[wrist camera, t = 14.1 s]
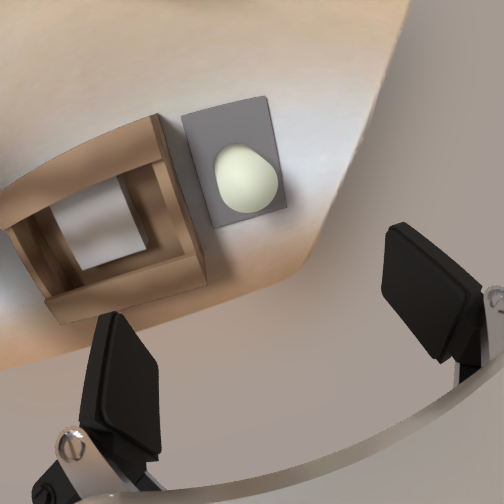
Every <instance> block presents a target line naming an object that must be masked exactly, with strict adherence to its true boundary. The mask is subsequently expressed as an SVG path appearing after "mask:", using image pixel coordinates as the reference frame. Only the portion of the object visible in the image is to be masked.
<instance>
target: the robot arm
mask: <svg viewBox="0 0 504 504" xmlns="http://www.w3.org/2000/svg"><path fill="white" fill-rule="evenodd" d="M385 237H386V238H385V253H384V265H383V276H382V285H381V291H382V295H383V297H384V298H385V299H386V300H387V301H388V303H389V304H390V305H391V307H392V308H393V309H394V310H395V311H396V313H397V314H398V315H399V316H400V318H401V319H402V320H403V321H404V323H405V324H406V325H407V326H408V328H409V329H410V330H411V331H412V333H413V334H414V335H415V336H416V338H417V339H418V341H419V342H420V343H421V344H422V346H423V347H424V348H425V350H426V351H427V352H428V354H429V355H430V356H431V357H432V358H433V359H437V361H438V362H439V363H440V364H442V363H443V362H445V361H446V360H448V359H449V358H450V357H451V356H452V357H453V358H454V360H455V372H454V385H453V389H452V390H451V391H450V392H448V393H447V394H445V395H444V396H442V397H441V398H439V399H438V400H436V401H435V402H433V403H431V404H430V405H428V406H427V407H425V408H423V409H422V410H420V411H418V412H417V413H415V414H413V415H412V416H410V417H408V418H406V419H405V420H403V421H401V422H399V423H397V424H396V425H394V426H392V427H390V428H388V429H386V430H384V431H382V432H380V433H378V434H376V435H374V436H372V437H370V438H368V439H366V440H363V441H361V442H359V443H357V444H355V445H352V446H350V447H347V448H345V449H343V450H340V451H338V452H335V453H333V454H330V455H327V456H325V457H322V458H319V459H317V460H314V461H311V462H308V463H305V464H302V465H298V466H295V467H292V468H289V469H286V470H282V471H278V472H274V473H271V474H267V475H263V476H259V477H254V478H250V479H245V480H241V481H235V482H230V483H224V484H219V485H211V486H204V487H197V488H187V489H178V490H167V489H165V488H164V487H163V486H162V485H161V484H160V483H159V482H158V481H157V480H156V479H155V478H154V477H153V476H152V475H151V474H150V473H149V472H148V471H147V469H146V462H154V461H159V459H158V454H160V453H161V450H162V449H161V448H162V447H161V434H160V416H159V415H160V414H159V382H158V381H159V376H158V375H159V373H158V372H159V370H158V365H157V362H156V361H155V359H154V358H153V357H152V355H151V354H150V353H149V351H148V350H147V349H146V347H145V346H144V344H143V343H142V342H141V340H140V339H139V337H138V336H137V335H136V333H135V332H134V330H133V329H132V327H131V326H130V325H129V323H128V322H127V320H126V319H125V317H124V316H123V315H122V314H118V313H117V312H116V311H112V312H108V313H105V314H101V315H100V316H99V318H98V321H97V325H96V329H95V333H94V337H93V342H92V346H91V351H90V355H89V360H88V365H87V370H86V376H85V381H84V387H83V393H82V399H81V406H80V414H79V422H80V425H79V427H77V426H70V427H67V428H65V429H64V430H63V431H62V432H61V433H60V434H59V436H58V438H57V440H56V444H55V454H56V457H57V460H56V461H55V462H54V463H53V465H52V466H51V467H50V468H49V469H48V470H47V471H46V472H45V473H44V474H43V475H42V476H41V477H40V479H39V480H38V481H37V482H36V483H35V484H34V486H33V489H32V502H33V504H504V287H501V286H491V287H488V288H487V289H486V290H485V292H484V294H483V293H481V289H482V285H481V284H480V283H478V282H477V281H476V280H475V279H474V278H473V277H472V276H471V275H470V274H469V273H467V272H466V271H465V270H464V269H463V268H462V267H461V266H459V265H458V264H457V263H456V262H455V261H454V260H452V259H451V258H450V257H449V256H448V255H446V254H445V253H444V252H443V251H442V250H440V249H439V248H438V247H437V246H435V245H434V244H433V243H432V242H430V241H429V240H428V239H427V238H425V237H424V236H423V235H421V234H420V233H419V232H418V231H416V230H415V229H414V228H412V227H411V226H410V225H408V224H407V223H405V222H401V223H398V224H395V225H392V226H390V227H389V229H388V232H387V233H386V236H385Z"/></svg>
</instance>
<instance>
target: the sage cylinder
mask: <svg viewBox="0 0 504 504" xmlns="http://www.w3.org/2000/svg"><path fill="white" fill-rule="evenodd" d="M213 169H214V173H215V177H216V181H217V184H218V188H219V191H220V195H221V197H222V199H223V201H224V202H225V203H226V205H227V206H229V207H230V208H231V209H233V210H235V211H238V212H242V213H252V212H256V211H259V210H261V209H263V208H264V207H266V206H267V205H268V204H269V203H270V202H271V201H272V200H273V198H274V196H275V194H276V192H277V188H278V178H277V175H276V172H275V170H274V168H273V167H272V166H271V165H270V164H269V163H268V162H267V161H266V160H265V159H263V158H262V157H261V156H260V155H259V154H257V153H256V152H255V151H254V150H253V149H251V148H250V147H249V146H247V145H245V144H241V143H232V144H229V145H226V146H224V147H223V148H222V149H220V150H219V152H218V153H217V154H216V156H215V158H214V162H213Z"/></svg>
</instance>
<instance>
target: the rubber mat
mask: <svg viewBox="0 0 504 504" xmlns="http://www.w3.org/2000/svg"><path fill="white" fill-rule="evenodd" d="M181 119H182V122H183V126H184V130H185V133H186V137H187V140H188V144H189V147H190V151H191V154H192V157H193V161H194V164H195V168H196V171H197V174H198V178H199V181H200V184H201V188H202V191H203V194H204V198H205V201H206V204H207V207H208V211H209V214H210V217H211V220H212V224H213V227H214V228H217V227H220V226H224V225H227V224H230V223H234V222H237V221H241V220H244V219H248V218H251V217H255V216H258V215H262V214H265V213H269V212H273V211H276V210H280V209H284V208H287V205H286V199H285V194H284V188H283V182H282V177H281V171H280V166H279V161H278V156H277V150H276V145H275V140H274V135H273V130H272V125H271V120H270V116H269V111H268V106H267V101H266V97H265V96H260V97H255V98H250V99H245V100H241V101H236V102H232V103H228V104H223V105H219V106H215V107H212V108H208V109H204V110H200V111H197V112H193V113H190V114H187V115H183V116H181ZM232 143H241V144H245V145H247V146H249V147H250V148H251V149H253V150H254V151H255V152H256V153H257V154H259V155H260V156H261V157H262V158H263V159H265V160H266V161H267V162H268V163H269V164H270V165H271V166H272V167H273V168H274V170H275V172H276V175H277V178H278V188H277V192H276V194H275V196H274V198H273V200H272V201H271V202H270V203H269V204H268V205H267V206H266V207H264V208H263V209H261V210H259V211H256V212H252V213H242V212H238V211H235V210H233V209H231V208H230V207H229V206H227V205H226V203H225V202H224V201H223V199H222V197H221V195H220V191H219V188H218V184H217V181H216V177H215V173H214V169H213V162H214V158H215V156H216V154H217V153H218V152H219V150H220V149H222V148H223V147H224V146H226V145H229V144H232Z"/></svg>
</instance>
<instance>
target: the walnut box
mask: <svg viewBox="0 0 504 504" xmlns="http://www.w3.org/2000/svg"><path fill="white" fill-rule="evenodd" d="M0 228H1V230H2V231H3V230H6V232H7V234H8V236H9V238H10V240H11V242H12V244H13V246H14V247H15V249H16V251H17V253H18V255H19V257H20V258H21V260H22V262H23V264H24V265H25V267H26V269H27V270H28V272H29V274H30V275H31V277H32V278H33V280H34V282H35V283H36V285H37V286H38V288H39V289H40V291H41V292H42V294H43V295H44V297H45V298H46V299H45V301H44V303H45V304H46V306H47V307H48V308H49V310H50V311H51V313H52V314H53V315H54V317H55V318H56V319H57V321H58V322H59V323H60V325H63V324H67V323H71V322H75V321H79V320H83V319H87V318H90V317H94V316H98V315H101V314H105V313H108V312H112V311H117V310H120V309H124V308H128V307H131V306H135V305H139V304H142V303H146V302H149V301H153V300H157V299H160V298H164V297H167V296H171V295H174V294H178V293H181V292H185V291H188V290H192V289H195V288H199V287H202V286H206V285H207V277H206V269H205V261H204V254H203V251H202V248H201V246H200V243H199V240H198V237H197V234H196V231H195V229H194V226H193V223H192V220H191V217H190V214H189V211H188V208H187V205H186V202H185V199H184V196H183V193H182V190H181V187H180V184H179V181H178V178H177V175H176V172H175V169H174V165H173V162H172V159H171V156H170V153H169V149H168V146H167V143H166V139H165V136H164V133H163V129H162V126H161V123H160V119H159V116H158V113H157V114H154V115H151V116H148V117H145V118H142V119H140V120H137V121H134V122H132V123H129V124H127V125H124V126H122V127H119V128H117V129H114V130H112V131H110V132H107V133H105V134H103V135H100V136H98V137H96V138H94V139H92V140H89V141H87V142H85V143H83V144H81V145H79V146H77V147H75V148H73V149H71V150H69V151H67V152H65V153H63V154H61V155H59V156H57V157H55V158H54V159H52V160H50V161H48V162H46V163H45V164H43V165H41V166H39V167H38V168H36V169H34V170H33V171H31V172H29V173H28V174H26V175H24V176H23V177H21V178H20V179H18V180H16V181H15V182H13V183H12V184H10V185H9V186H7V187H6V188H4V189H3V190H2V191H0Z"/></svg>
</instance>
